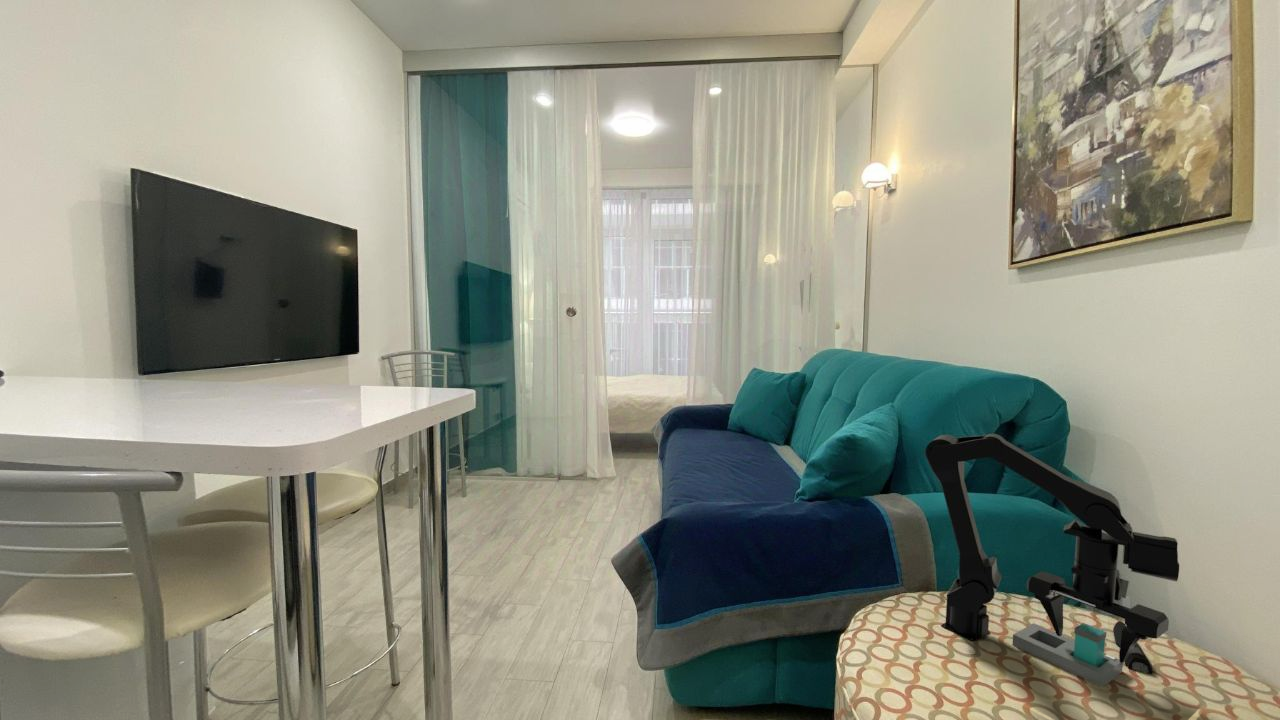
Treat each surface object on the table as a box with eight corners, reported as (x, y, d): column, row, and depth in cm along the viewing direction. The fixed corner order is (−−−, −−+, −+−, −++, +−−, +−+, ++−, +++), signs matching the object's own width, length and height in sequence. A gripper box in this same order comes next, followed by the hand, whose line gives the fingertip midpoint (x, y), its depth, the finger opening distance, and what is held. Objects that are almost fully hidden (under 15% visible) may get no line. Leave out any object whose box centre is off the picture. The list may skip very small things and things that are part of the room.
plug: (1072, 665, 98) (1074, 627, 98) (1080, 659, 100) (1083, 622, 100) (1095, 676, 95) (1098, 637, 95) (1103, 670, 97) (1106, 632, 97)
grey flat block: (1012, 647, 105) (1013, 633, 105) (1032, 635, 109) (1033, 622, 109) (1102, 689, 93) (1103, 674, 93) (1122, 674, 97) (1123, 659, 97)
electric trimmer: (1132, 638, 109) (1133, 623, 109) (1154, 680, 96) (1155, 662, 96) (1108, 633, 111) (1109, 617, 111) (1126, 673, 98) (1127, 655, 98)
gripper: (1183, 573, 93) (1176, 662, 94) (1055, 536, 109) (1050, 612, 110) (1158, 589, 87) (1151, 683, 88) (1027, 547, 103) (1022, 627, 104)
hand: (1089, 648), depth 97 cm, fingers open, 9 cm apart
